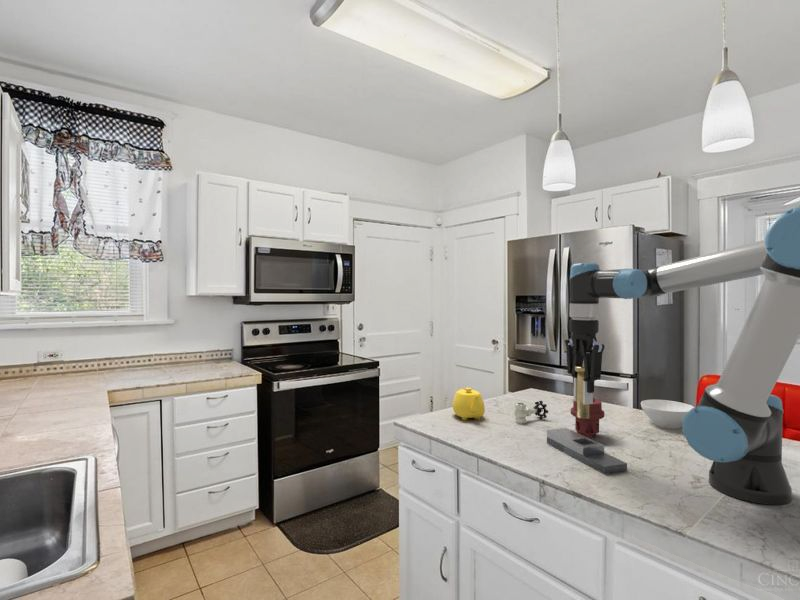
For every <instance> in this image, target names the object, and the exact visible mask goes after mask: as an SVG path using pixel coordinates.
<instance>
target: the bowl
mask: <svg viewBox="0 0 800 600" xmlns="http://www.w3.org/2000/svg"><path fill="white" fill-rule="evenodd" d="M640 406H641V409H642V411H643V412H644V414H645V415H646V416H647V417H648V418H649V420H651V422H652V423H653V424H654V425H655V426H656V427H659V428H663V429H666V430H667V429H668V430H677V429H678V430H679V429H680V428H681V427H682V423H683V419H684V417H685V415H686V414H687V413H688V412H689V411H690V410H691V409H692V408H695V407H694V406H693V405H691V404H688V403H684V402H680V401H675V400H667V399H646V400H641V402H640Z"/></svg>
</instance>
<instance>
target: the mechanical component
mask: <svg viewBox="0 0 800 600" xmlns="http://www.w3.org/2000/svg"><path fill="white" fill-rule="evenodd" d="M572 400H573V401H572V404H573V405H572V407H571V408H570V415H572V416H573V417H574V418H575V420H574V421H575V424H574V425H575V428H574V429H575V432H576V433H579V434H581V435H583V436H585V437H587V438H590V439H592V438H593V437H594V436H596V435H597V434H599V433H600V420H602V419H603V418H605V411H604V410H603V409H602V406H603V405H602V401H601V400H600V399H597V398H594V397H593V404H589V418H588V419H582V418H578V417H577V401H574V398H573V399H572Z"/></svg>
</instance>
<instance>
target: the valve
mask: <svg viewBox="0 0 800 600" xmlns="http://www.w3.org/2000/svg"><path fill="white" fill-rule="evenodd" d="M514 404H515V405H514V406H515V409H514V416H515V418H514V419H515V420H514V421H515V423H516V424H526V423H527V418H526V417H531V415H533V414H535V415H534V416H538V419H540V420H542V419H547V418H548V416H547V414H548V413H549V410H548V409H546V408H547V407H548V406H547V405H548V404H547V403H544V402H543V400H538V401H534V406H533V408H530V407H527V405H526V403H524V402H516V403H514ZM540 406H541V407H540Z"/></svg>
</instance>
